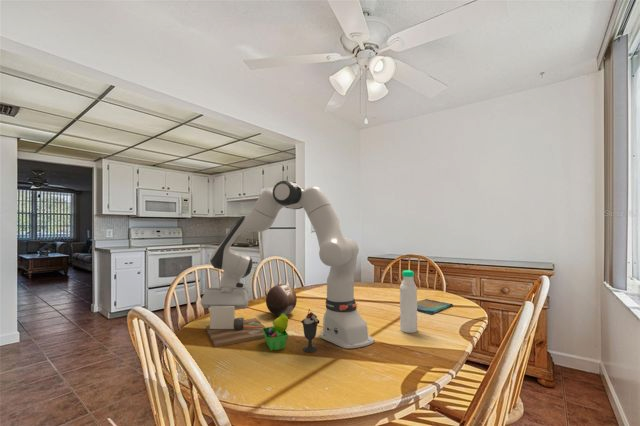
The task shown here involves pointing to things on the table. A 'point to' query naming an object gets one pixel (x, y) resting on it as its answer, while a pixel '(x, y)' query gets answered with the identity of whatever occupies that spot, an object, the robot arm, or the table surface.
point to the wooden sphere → (281, 299)
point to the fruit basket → (277, 333)
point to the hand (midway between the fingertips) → (220, 316)
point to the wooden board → (236, 333)
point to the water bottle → (408, 303)
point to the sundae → (310, 330)
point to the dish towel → (431, 306)
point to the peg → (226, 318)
